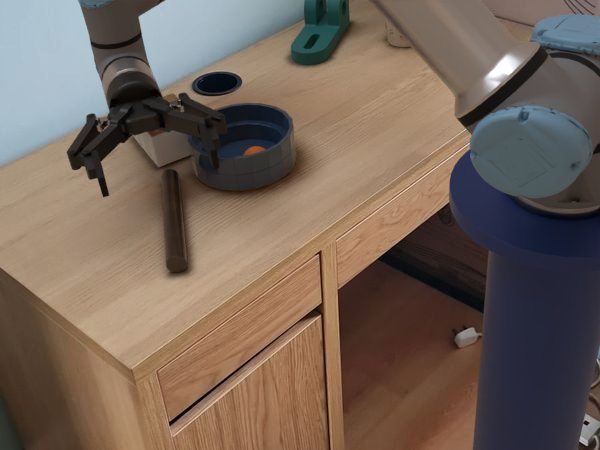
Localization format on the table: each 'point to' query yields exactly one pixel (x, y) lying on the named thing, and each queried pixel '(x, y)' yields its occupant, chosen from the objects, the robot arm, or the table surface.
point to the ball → (254, 150)
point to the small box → (164, 143)
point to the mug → (394, 36)
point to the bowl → (239, 138)
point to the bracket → (320, 30)
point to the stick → (173, 221)
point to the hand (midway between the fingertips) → (160, 173)
